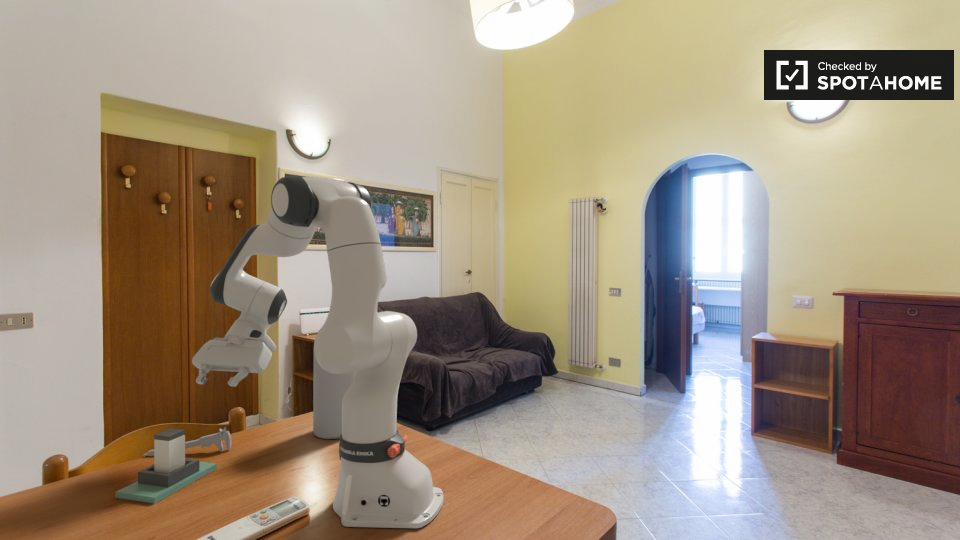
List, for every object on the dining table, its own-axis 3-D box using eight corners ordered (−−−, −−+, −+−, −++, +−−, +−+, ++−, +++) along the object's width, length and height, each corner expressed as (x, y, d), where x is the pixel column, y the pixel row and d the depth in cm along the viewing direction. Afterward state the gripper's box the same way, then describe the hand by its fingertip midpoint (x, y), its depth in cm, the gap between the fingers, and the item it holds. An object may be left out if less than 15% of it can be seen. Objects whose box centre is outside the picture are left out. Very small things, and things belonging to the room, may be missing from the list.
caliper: (231, 450, 118) (231, 426, 118) (229, 452, 117) (229, 428, 117) (144, 455, 114) (144, 431, 114) (142, 457, 113) (142, 433, 113)
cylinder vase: (314, 426, 135) (314, 343, 135) (357, 422, 139) (357, 342, 138) (311, 442, 123) (312, 351, 123) (358, 437, 127) (359, 349, 126)
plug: (185, 473, 102) (185, 429, 102) (169, 482, 98) (169, 436, 98) (170, 471, 103) (170, 428, 102) (154, 479, 99) (154, 434, 99)
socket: (216, 468, 107) (216, 453, 107) (154, 503, 91) (154, 485, 91) (182, 464, 109) (182, 449, 109) (115, 497, 93) (115, 479, 93)
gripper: (204, 330, 122) (173, 375, 112) (270, 333, 117) (243, 380, 108) (217, 344, 126) (188, 388, 116) (281, 347, 121) (256, 393, 112)
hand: (215, 384), depth 112 cm, fingers open, 8 cm apart
